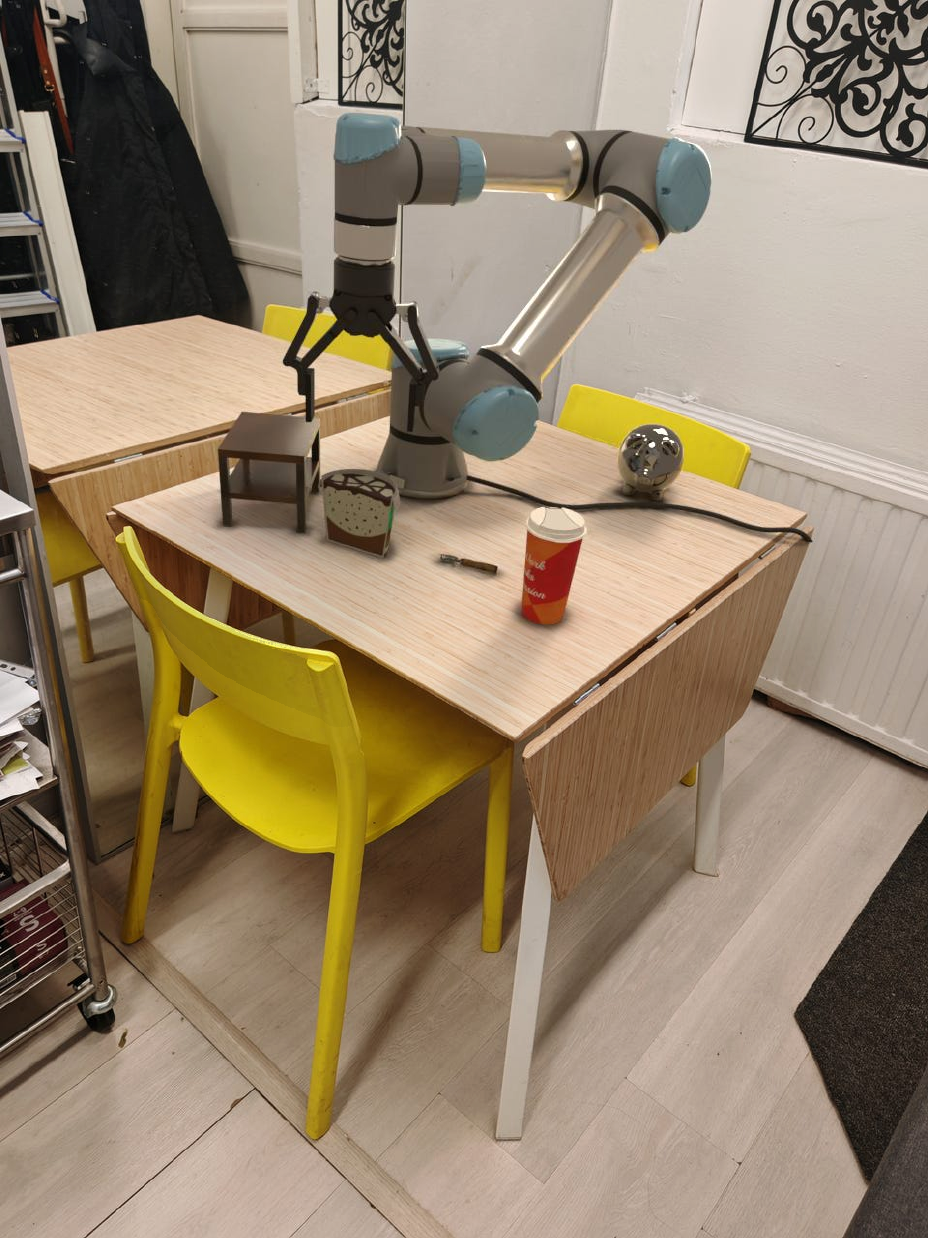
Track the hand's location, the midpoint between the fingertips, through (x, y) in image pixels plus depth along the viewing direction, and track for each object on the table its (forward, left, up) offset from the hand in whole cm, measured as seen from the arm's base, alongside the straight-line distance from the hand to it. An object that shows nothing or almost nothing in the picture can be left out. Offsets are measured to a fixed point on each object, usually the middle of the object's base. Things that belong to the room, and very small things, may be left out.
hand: (360, 423), depth 122 cm
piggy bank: (-46, -26, -18) cm, 56 cm away
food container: (-1, 0, -18) cm, 18 cm away
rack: (+14, -8, -18) cm, 24 cm away
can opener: (-16, +5, -18) cm, 25 cm away
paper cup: (-26, +16, -18) cm, 36 cm away
